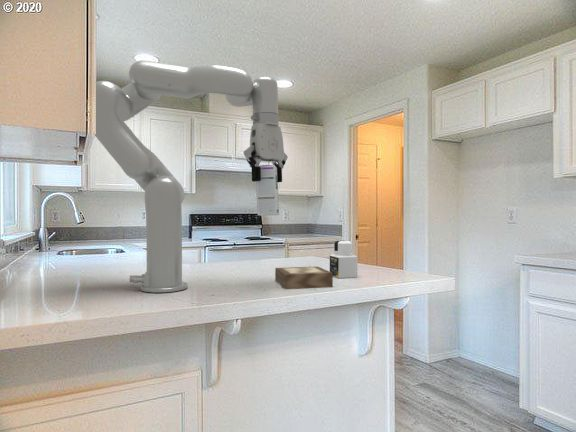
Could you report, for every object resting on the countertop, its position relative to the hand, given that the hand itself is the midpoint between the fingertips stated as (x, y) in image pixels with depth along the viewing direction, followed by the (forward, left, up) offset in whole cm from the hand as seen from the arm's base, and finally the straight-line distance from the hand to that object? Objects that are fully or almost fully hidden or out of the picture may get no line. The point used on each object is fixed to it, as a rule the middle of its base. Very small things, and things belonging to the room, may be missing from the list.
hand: (267, 181), depth 114 cm
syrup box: (0, 0, -10) cm, 10 cm away
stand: (+11, +1, -31) cm, 32 cm away
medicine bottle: (+28, +11, -31) cm, 43 cm away
